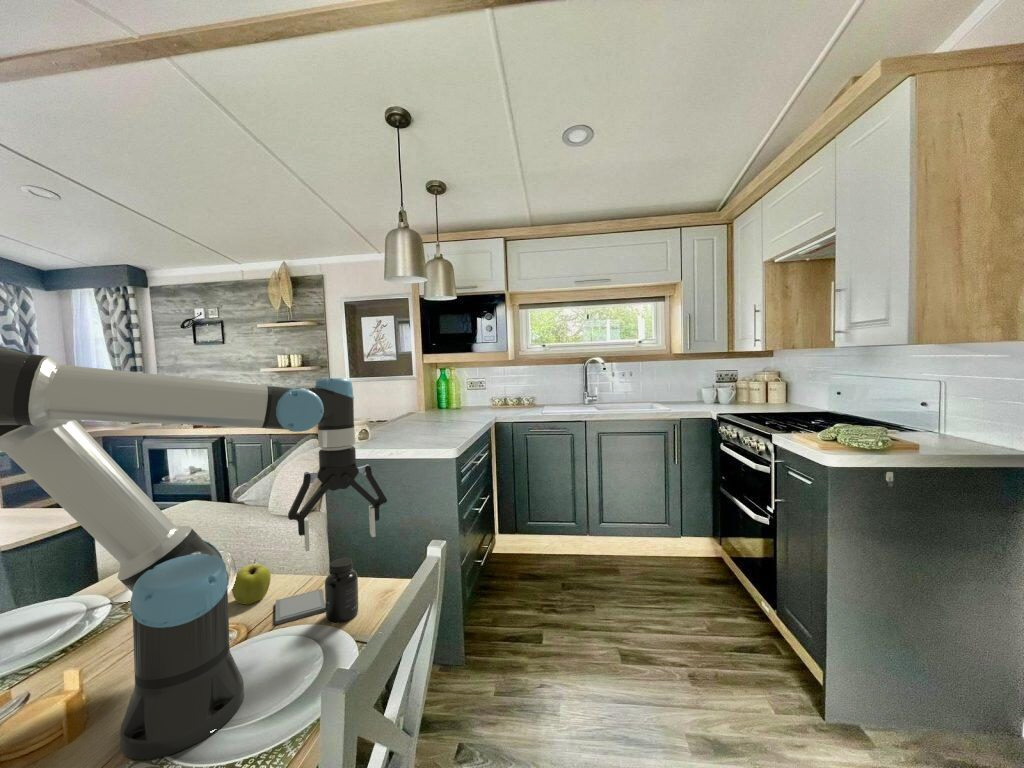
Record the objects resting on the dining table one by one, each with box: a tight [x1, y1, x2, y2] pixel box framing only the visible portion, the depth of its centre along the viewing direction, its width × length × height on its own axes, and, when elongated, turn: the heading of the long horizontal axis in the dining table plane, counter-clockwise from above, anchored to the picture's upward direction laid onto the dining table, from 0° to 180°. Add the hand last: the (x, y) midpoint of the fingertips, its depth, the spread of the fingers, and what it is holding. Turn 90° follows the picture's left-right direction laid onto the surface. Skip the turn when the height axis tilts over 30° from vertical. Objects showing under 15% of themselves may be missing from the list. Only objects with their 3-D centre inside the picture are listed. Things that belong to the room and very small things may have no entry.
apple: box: [231, 558, 271, 606], centre depth 99 cm, size 8×8×10 cm
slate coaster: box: [274, 588, 326, 626], centre depth 96 cm, size 10×10×1 cm
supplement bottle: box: [324, 557, 359, 624], centre depth 92 cm, size 7×7×12 cm
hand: (341, 542), depth 92 cm, fingers open, 13 cm apart
